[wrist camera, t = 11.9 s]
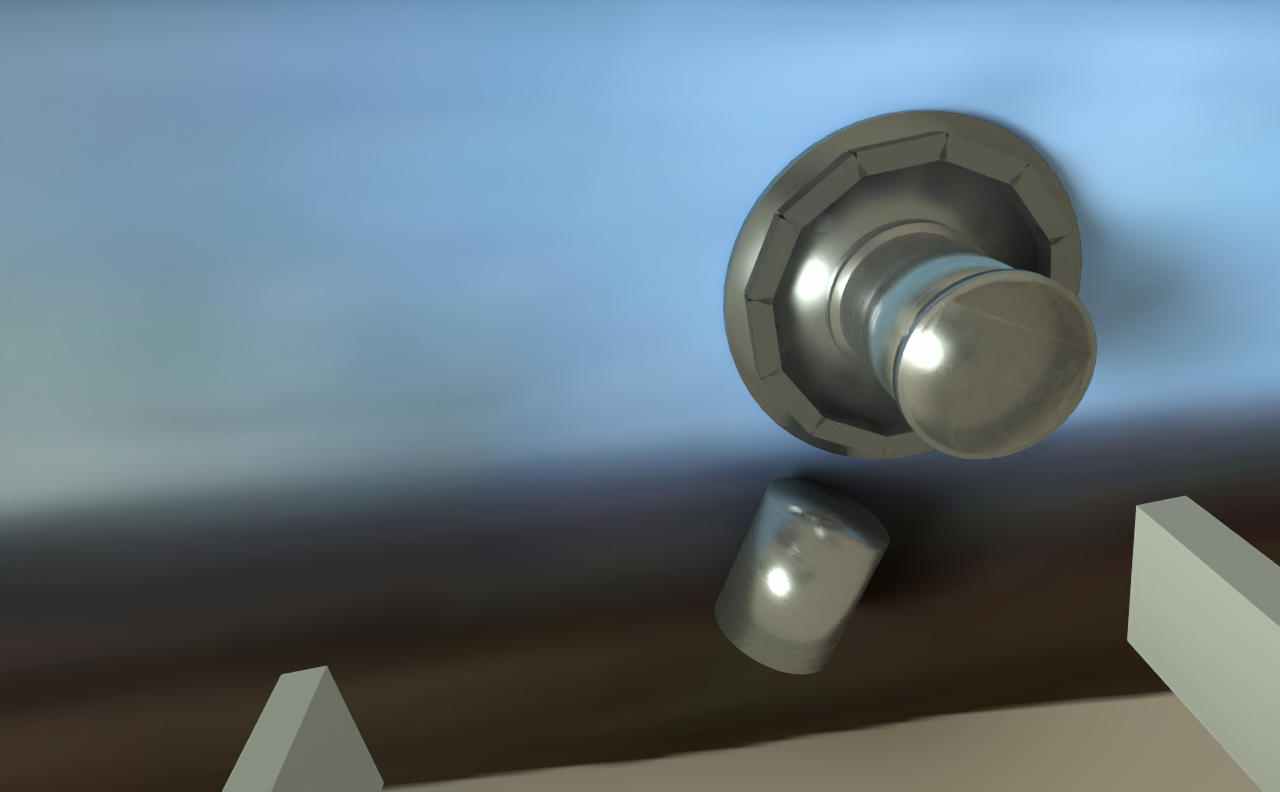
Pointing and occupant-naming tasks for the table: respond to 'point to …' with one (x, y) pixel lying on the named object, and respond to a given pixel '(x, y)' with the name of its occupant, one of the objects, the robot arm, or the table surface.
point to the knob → (960, 338)
